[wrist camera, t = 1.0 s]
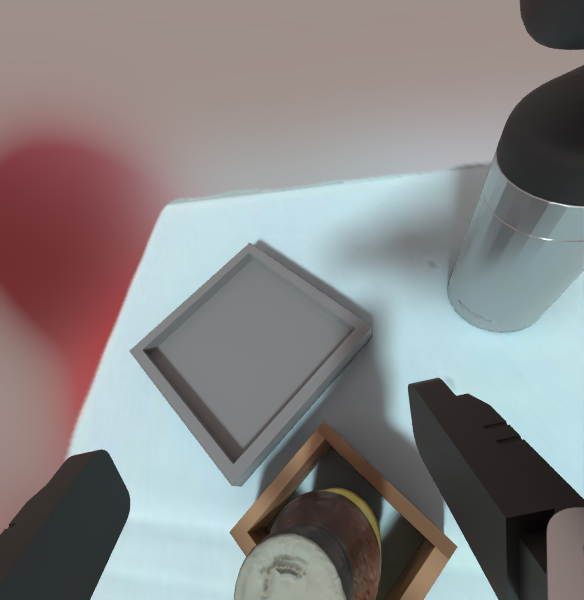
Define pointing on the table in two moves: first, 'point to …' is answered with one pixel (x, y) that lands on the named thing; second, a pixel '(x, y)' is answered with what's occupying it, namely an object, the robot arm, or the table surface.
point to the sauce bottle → (316, 551)
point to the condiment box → (435, 547)
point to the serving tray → (249, 358)
